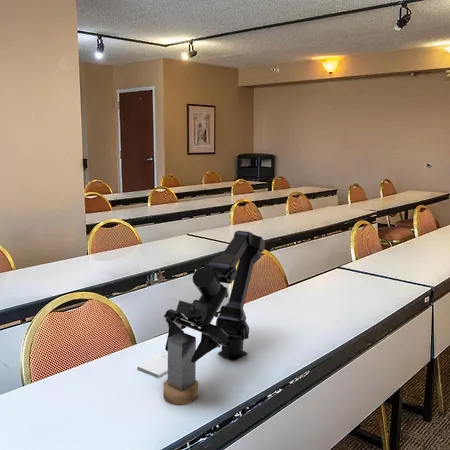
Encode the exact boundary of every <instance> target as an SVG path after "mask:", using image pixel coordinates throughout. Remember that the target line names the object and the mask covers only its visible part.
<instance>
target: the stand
mask: <svg viewBox="0 0 450 450" xmlns="http://www.w3.org/2000/svg"><path fill="white" fill-rule="evenodd" d="M199 385H200V384H199V382H198V380H197V379H195V385H193V386H191V387H190V388H188V389H186V390H184V391H182V392H181V391H179V390H177V389H175V388H173V387H171V386H169V385H168V379H166V380H165V381H164V382H163V387H162V388H163V393H162V395H163V399H164V401H165V402H167V403H169V404H171V405H175V406H183V405H190V404H192V403H194V402H195V401H197V400H198V398H199V391H200V390H199Z"/></svg>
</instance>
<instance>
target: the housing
mask: <svg viewBox="0 0 450 450" xmlns="http://www.w3.org/2000/svg"><path fill="white" fill-rule="evenodd" d="M167 338H168V373H167V380H168V385H169V386H171V387H173V388H175V389H177V390H179V391H181V392H182V391H184V390H186V389H188V388H190V387H191V386H193V385H195V380H196V368H197V367H196V363H197V361H196V362H194V363H192V362H191V359H192V357H193V354H194V353H195V351H196V349H197V346H196V345H197V338H196V336H194V335H191V334H190V333H186V332H185V331H184V332H180V333H178V334H175V335H173V336H171V337H168V336H167Z"/></svg>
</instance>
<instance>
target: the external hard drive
mask: <svg viewBox="0 0 450 450" xmlns="http://www.w3.org/2000/svg"><path fill="white" fill-rule="evenodd" d="M137 371H140V372H143V373H145V374H146V375H149V376H152V377H154V378H157V379H160V378H162V377H164V376H165V375H168V351H166V350H165V352H162V353H161V354H159V355H157V356H155V357H153V358H152V359H149V360H147V361H145V362H144V363H142V364H140V365H138V366H137Z"/></svg>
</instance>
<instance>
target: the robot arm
mask: <svg viewBox="0 0 450 450" xmlns="http://www.w3.org/2000/svg"><path fill="white" fill-rule="evenodd" d="M265 248H266V240H264V239H263V237H262V236H260V235H256V234H253V232H251V231H247V230H236V231H235V232H234V235H233V238H232V239H231V240H230V242H229V244H228V245H227V246H226V248H225V249H224V251H223V253H222V254H221V255H218V256H215V257H213V259H211V261H209V263H204V264H203V267H200V268H198V269H197V270H195V272H194V273H193V274H192V282H193V285H194V286H195V287H196V288H197V291H199V293H200V297H199V298H198V299H197V298H196V299H194V300H193V301H192V302H188V301H183V300H179V299H178V304H177V306H176V310H174V309H172V308H170V309H167V311H166V312H165V314H164V316H163V318H165V322H166V323H167V325H168V333H167V338H166V343H165V346H164V347H165V348H164V350H165V352H166V351H168V337H171V336H173V335H175V334H178V333H180V332H184V333H185V331H184V330H185V329H186V328H189V329H191V330H193V331H197V332H199V333H201V337H200V342H199V344H198V345H197V346H196V351H195V353H194V354H193V357H192V359H191V362H192V363H194V362H196V363H197V362H198V360H200V359H201V358H203V357H204V356H206V355H207V354H208V353H210V352H211V351H213V350H214V349H216V348H221V351H219V352H217V354H218V355H219V356H222V357H223V358H226V359H227V360H230V361H237V360H239V359H240V358H243V357H244V356H247V354H248V352H247V351H245V350H244V341H245V340H246V339H249V337H250V335H249V334H250V327H249V325H248V323H247V316H246V313H245V310H244V306H245V302H246V298H247V293H248V290H249V285H250V281H251V277H252V274H253V273H252V272H253V268H254V265H255V264H256V263H257V262H259V260H260V259H261V258H262V255H263V254H262V253H263V252H264V251H265ZM232 283H233V284H232ZM224 284H232V287H231V291H230V294H229V292H228V287H226V286H224ZM229 295H230V296H229ZM228 297H229V299H228ZM224 299H228V303H226V304H225V305H222V303H223V301H224ZM221 305H222V306H221ZM218 311H219V313H218ZM214 318H216V322H215V324H212V321H213V319H214Z"/></svg>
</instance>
